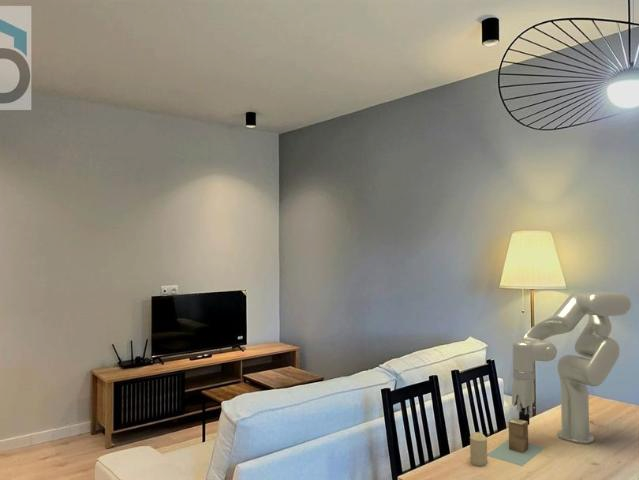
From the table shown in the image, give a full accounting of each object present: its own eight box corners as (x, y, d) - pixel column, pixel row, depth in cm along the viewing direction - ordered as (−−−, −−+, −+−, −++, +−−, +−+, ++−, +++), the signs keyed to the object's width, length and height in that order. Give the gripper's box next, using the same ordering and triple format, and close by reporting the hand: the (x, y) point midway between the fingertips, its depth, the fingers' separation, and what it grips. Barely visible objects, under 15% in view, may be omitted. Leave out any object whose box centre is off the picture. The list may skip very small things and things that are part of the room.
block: (514, 445, 181) (514, 418, 181) (528, 449, 178) (527, 421, 178) (509, 449, 178) (508, 421, 178) (522, 453, 174) (522, 424, 174)
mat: (510, 439, 188) (510, 438, 188) (545, 449, 179) (545, 447, 179) (485, 456, 173) (485, 455, 173) (522, 468, 164) (522, 466, 164)
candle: (488, 466, 165) (487, 437, 165) (471, 465, 166) (470, 435, 166) (486, 459, 170) (485, 431, 171) (469, 458, 172) (469, 430, 172)
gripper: (521, 369, 190) (522, 417, 190) (505, 376, 180) (505, 427, 179) (541, 373, 185) (542, 421, 185) (525, 380, 175) (526, 432, 174)
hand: (524, 424), depth 182 cm, fingers closed
